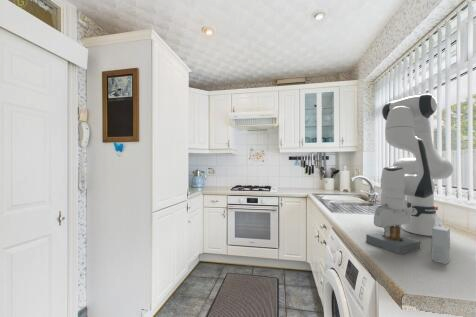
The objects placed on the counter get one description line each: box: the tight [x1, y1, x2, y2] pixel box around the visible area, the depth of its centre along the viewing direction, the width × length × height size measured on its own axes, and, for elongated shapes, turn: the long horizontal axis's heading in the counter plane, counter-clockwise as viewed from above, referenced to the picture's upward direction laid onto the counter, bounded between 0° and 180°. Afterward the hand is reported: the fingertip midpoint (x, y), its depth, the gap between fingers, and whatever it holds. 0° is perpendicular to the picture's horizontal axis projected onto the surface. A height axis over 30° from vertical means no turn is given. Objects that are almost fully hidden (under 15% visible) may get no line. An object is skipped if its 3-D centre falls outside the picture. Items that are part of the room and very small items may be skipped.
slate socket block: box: [365, 231, 421, 255], centre depth 95 cm, size 14×14×3 cm
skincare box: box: [431, 226, 451, 265], centre depth 81 cm, size 6×4×12 cm
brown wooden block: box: [383, 226, 402, 241], centre depth 95 cm, size 6×4×7 cm, turn 23°
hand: (392, 235), depth 95 cm, fingers closed on brown wooden block, 4 cm apart
